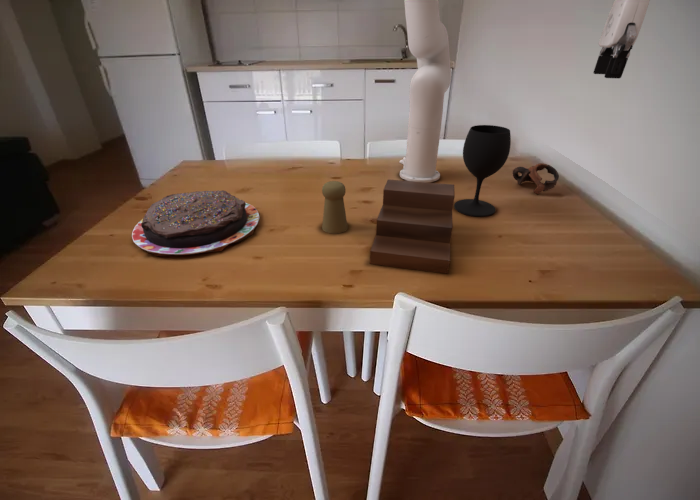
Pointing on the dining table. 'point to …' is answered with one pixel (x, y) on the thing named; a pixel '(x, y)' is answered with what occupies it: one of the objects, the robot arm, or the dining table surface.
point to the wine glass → (483, 163)
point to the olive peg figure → (334, 208)
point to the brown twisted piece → (536, 176)
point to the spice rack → (414, 226)
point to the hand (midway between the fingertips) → (606, 75)
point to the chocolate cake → (195, 223)
